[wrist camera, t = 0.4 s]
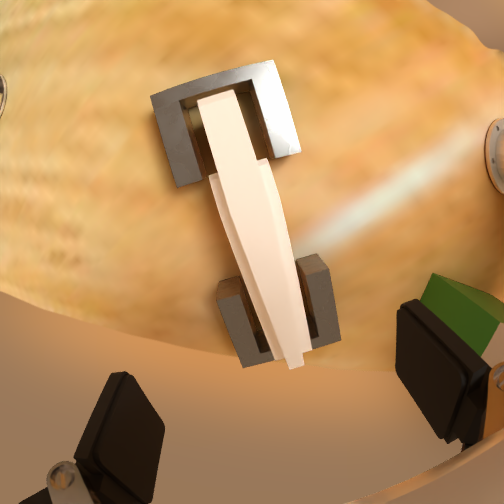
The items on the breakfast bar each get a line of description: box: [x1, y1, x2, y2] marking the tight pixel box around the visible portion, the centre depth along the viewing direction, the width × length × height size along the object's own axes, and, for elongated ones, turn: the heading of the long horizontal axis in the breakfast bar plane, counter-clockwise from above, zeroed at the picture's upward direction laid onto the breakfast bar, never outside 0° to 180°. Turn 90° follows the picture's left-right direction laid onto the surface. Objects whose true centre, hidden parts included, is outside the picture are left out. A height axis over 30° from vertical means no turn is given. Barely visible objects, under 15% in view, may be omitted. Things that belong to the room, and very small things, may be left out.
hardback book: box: [420, 273, 504, 368], centre depth 27 cm, size 18×7×24 cm, turn 73°
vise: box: [150, 60, 341, 368], centre depth 31 cm, size 12×31×5 cm, turn 16°
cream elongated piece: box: [197, 90, 312, 370], centre depth 30 cm, size 6×25×13 cm, turn 17°
